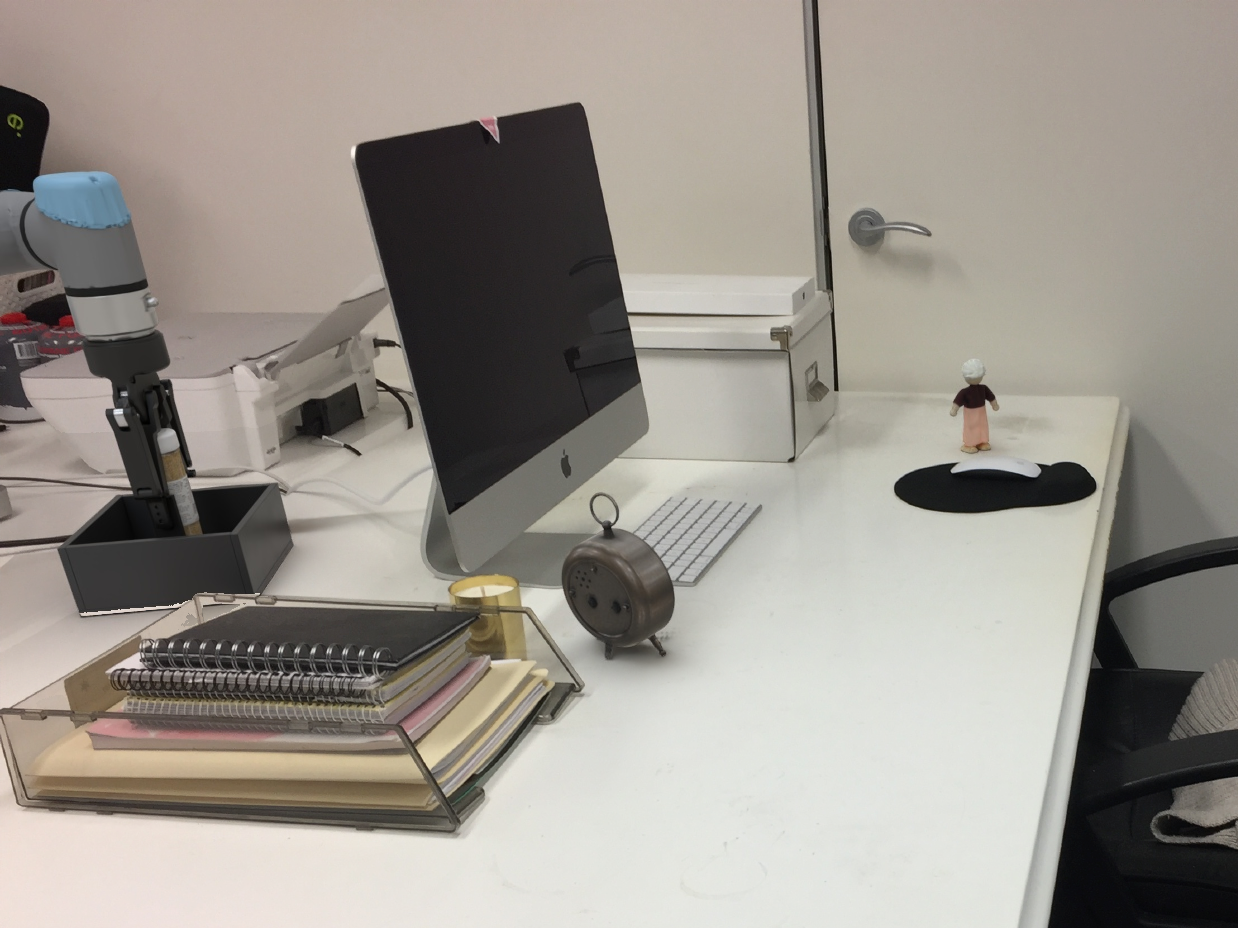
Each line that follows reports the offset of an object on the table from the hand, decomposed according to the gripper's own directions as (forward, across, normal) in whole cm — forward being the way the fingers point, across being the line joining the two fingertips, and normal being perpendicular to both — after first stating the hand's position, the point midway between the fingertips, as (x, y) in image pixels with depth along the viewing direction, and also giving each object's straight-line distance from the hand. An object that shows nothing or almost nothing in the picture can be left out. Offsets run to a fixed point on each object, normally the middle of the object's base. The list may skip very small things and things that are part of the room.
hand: (183, 544), depth 146 cm
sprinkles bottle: (+1, 0, 0) cm, 1 cm away
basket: (+4, 0, 0) cm, 4 cm away
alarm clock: (+4, -31, -48) cm, 57 cm away
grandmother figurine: (+4, +25, -96) cm, 99 cm away
